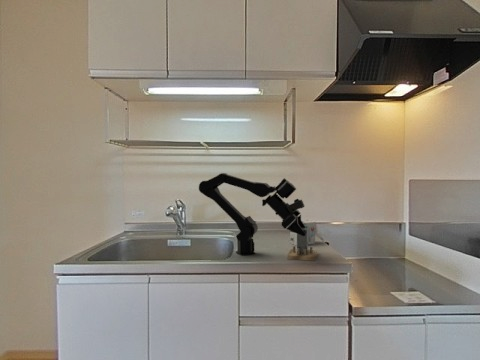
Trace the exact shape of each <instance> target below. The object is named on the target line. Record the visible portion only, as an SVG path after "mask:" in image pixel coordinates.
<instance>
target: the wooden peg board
mask: <svg viewBox="0 0 480 360" xmlns="http://www.w3.org/2000/svg"><path fill="white" fill-rule="evenodd" d="M317 256H318V250H316V249H314V250H313V246H310V247H309V249H308V253H307V254H306V249H304V254H300V249H299V248H297V247H296V245H294V246H292V249H290V250H289V252H288V254H287V255H286V258H287V259H286V260H301V261H316V259H317Z"/></svg>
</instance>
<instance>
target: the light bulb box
mask: <svg viewBox="0 0 480 360" xmlns="http://www.w3.org/2000/svg"><path fill="white" fill-rule="evenodd" d="M302 222H303V224H304V225H305V227H306V228H308V245H316V221H312V220H308V219H307V220H302ZM289 232H290V233H289V239H290V240H289V241H290V242H289V244H291V245H294V246H297V233H295V232H292V231H290V230H289Z"/></svg>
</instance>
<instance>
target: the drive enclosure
mask: <svg viewBox="0 0 480 360" xmlns="http://www.w3.org/2000/svg"><path fill="white" fill-rule="evenodd" d="M302 230H303V231H304V233H305V234H306V235H305V236H302V235H300V234H297V245H296V249H297V248H299V249H300V254H304V249H306V254H307V253H308V250H309V244H308V228H302Z"/></svg>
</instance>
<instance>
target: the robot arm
mask: <svg viewBox="0 0 480 360" xmlns="http://www.w3.org/2000/svg"><path fill="white" fill-rule="evenodd" d="M223 184H227V185H230V186H233V187H236V188H239V189H244V190H246V191H248V192H250V193H252V194H253V195H255V196H257V197H259V198H263V199H262V200H261V201H262V202H261V203H262V207H265V206H266V205H268V206H269V207H270V208H271V210H273V211H274V212H275V215H276V216H279V217H280V218H281V226H282V227H283V229H286V230H287V231H289V232H290V231H292V232H295V233H297V234H300V235H302V236H305V235H306V234H305V233H304V231H303V230H302V228H306V227H305V225H304V224H303V222H302V221H303V220H302V214H301V212H300V211H299V209H303V208H305V204H304V201H303V199H302V198H301V199H299V198H296V199H294V200H293V203H290V204H289V203H288V202H285V200H283V199H288V198H289V197H290V196H291V195H292V194H293V193H294V192H296V190H297V187H296V186H294V184H293V183H292V182H290V181H289V180H287V179H286V178H285V177H284V178H283V179H282V180H281V181H280V182H279V183H278V185H277V186H271V185H269V184H268V183H266V182H258V181H250V180H247V179H244V178H240V177H237V176H235V175H234V176H233V175H230V174H228V173H224V172H221V173H219V174H217V175H216V176H214V177H211V178H210V179H208V180H202V181H201V182H199V184H198V191H199V192H200V193H201V194H202V195H204V196H205V197H207V198H209V199H210V200H213V202H215V204H217V206H219V208H220V209H222V210H223V211H224V212H225V213H226V214H227V216H229V218H231V219H232V220H233V221H234V222H235V224H236V226H237V228H238V230H239V231H240V232H239V233H238V234H236V241H237V245H236V246H237V248H236V249H237V250H236V251H235V253H236V254H238V255H240V256H246V255H255V254H256V252H255V242H254V235H255V234H256V233H257V232H258V229H259V228H258V224H257V220H254V219H253V218H252V216H250V215H247V216H245V215H243V213H241V212H240V211H239V210H238V209H237V208H236V207H235V206H234V205H233V204H232V203H231V202H230V201H229V200H228V199H227V198H226V197H225V196H224V195H223V193H221V191H220V188H219V187H220V186H222V185H223ZM272 193H273V194H272ZM264 197H266V198H264Z"/></svg>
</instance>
